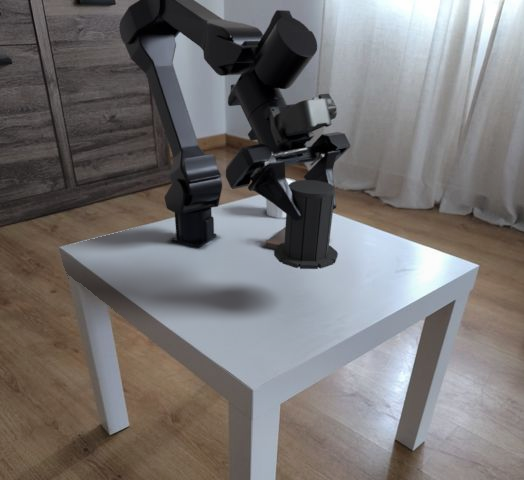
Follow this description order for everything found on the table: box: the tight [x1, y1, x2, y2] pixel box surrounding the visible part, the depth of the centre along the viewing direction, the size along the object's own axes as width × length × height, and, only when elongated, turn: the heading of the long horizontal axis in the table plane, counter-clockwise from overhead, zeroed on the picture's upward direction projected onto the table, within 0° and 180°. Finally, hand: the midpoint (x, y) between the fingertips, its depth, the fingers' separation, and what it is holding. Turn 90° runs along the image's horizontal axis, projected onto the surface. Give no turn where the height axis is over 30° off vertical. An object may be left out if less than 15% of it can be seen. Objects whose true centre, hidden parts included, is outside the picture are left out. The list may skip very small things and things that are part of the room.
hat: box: [273, 179, 339, 270], centre depth 69 cm, size 9×9×10 cm
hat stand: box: [264, 227, 285, 250], centre depth 92 cm, size 9×9×6 cm
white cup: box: [265, 177, 296, 219], centre depth 106 cm, size 7×7×7 cm
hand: (316, 214), depth 67 cm, fingers closed on hat, 6 cm apart
